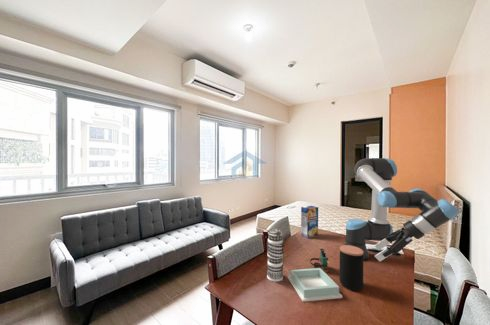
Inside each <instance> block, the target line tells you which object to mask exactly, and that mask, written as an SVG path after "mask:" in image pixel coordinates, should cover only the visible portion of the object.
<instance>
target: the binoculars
mask: <svg viewBox="0 0 490 325" xmlns="http://www.w3.org/2000/svg"><path fill="white" fill-rule="evenodd" d="M328 260H329V258H328V257H327V253H326V252H325V249H324V248H320V252H319V257H313V258H311V259H309V264H310V265H312V266H313V267H314V268H321V269H322V270H323V271H324V272H325V273H328V272H329V269H328V266H329V264H328ZM313 261H318V262H313Z"/></svg>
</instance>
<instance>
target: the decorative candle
mask: <svg viewBox="0 0 490 325" xmlns="http://www.w3.org/2000/svg"><path fill="white" fill-rule="evenodd" d="M267 235H268V237H267V239H266V250H267V251H266V252H267V254H266V255H267V263H266V264H267V265H266V266H267V267H266V278H267V279H268V280H269V281H271V282H280V281H283V278H284V277H283V276H284V274H283V273H284V271H283V270H284V264H283V263H284V262H283V257H284V251H285V250H284V246H285V244H284V243H285V242H284V239H283V236H284V234H283V232H282V231H281V230H280V229H278V228H272V229H270V230H269V231H268V232H267Z"/></svg>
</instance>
